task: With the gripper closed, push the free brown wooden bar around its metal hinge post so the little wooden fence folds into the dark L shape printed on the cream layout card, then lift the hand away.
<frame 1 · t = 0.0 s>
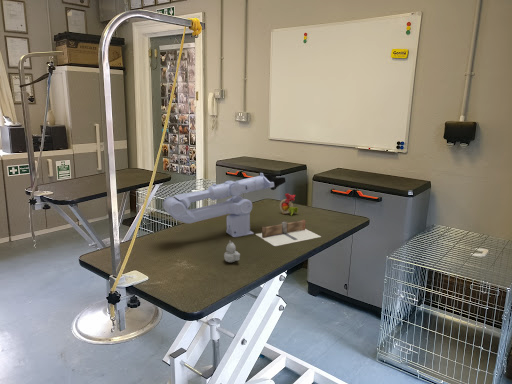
hand: (280, 178, 174), 22 cm above the table, tool horizontal, fingers open, 7 cm apart
fixed fence section: (284, 233, 168), resting on layout card
bird rattle: (288, 215, 197), on the table
brown wooden bar: (296, 226, 170), point 3 cm above the table, hinge at 0.0°
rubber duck: (232, 262, 141), on the table
layout card: (288, 236, 166), on the table
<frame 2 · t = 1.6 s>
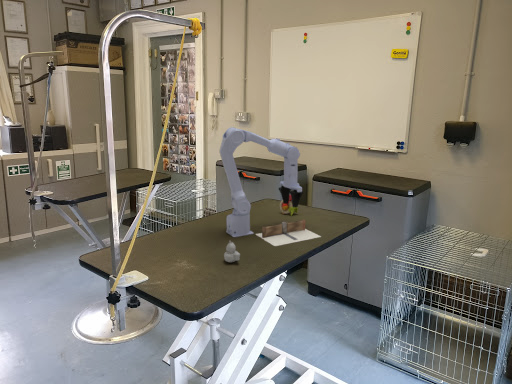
hand: (290, 205, 174), 10 cm above the table, tool pointing down, fingers open, 7 cm apart
nothing on the table moved.
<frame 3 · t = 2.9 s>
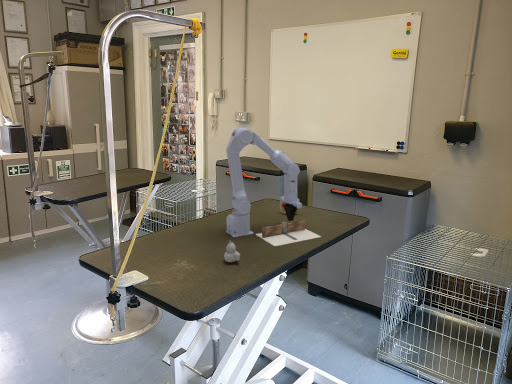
hand: (290, 220, 175), 4 cm above the table, tool pointing down, fingers closed
nothing on the table moved.
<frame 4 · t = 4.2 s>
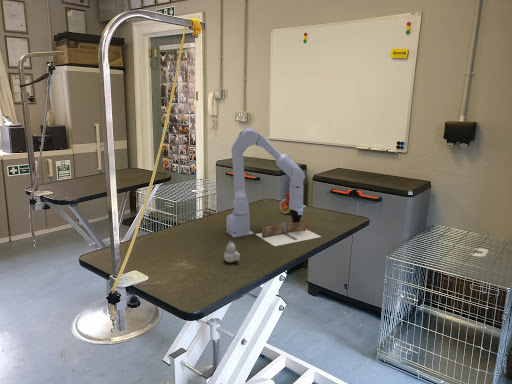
hand: (296, 226, 172), 2 cm above the table, tool pointing down, fingers closed
brown wooden bar: (296, 226, 170), point 3 cm above the table, hinge at 4.9°, touching gripper
everything else where it was.
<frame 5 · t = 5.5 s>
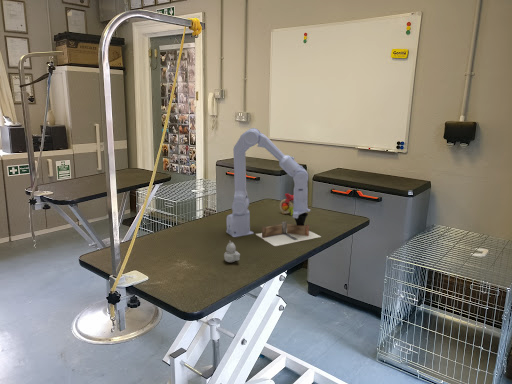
hand: (300, 230, 167), 2 cm above the table, tool pointing down, fingers closed
brown wooden bar: (298, 229, 166), point 3 cm above the table, hinge at 46.3°, touching gripper
everything else where it was.
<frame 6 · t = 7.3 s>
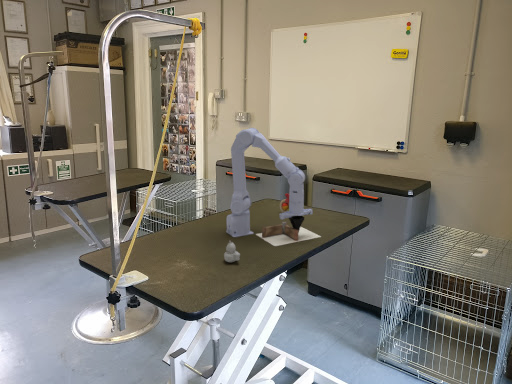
hand: (296, 233, 163), 2 cm above the table, tool pointing down, fingers closed
brown wooden bar: (291, 232, 163), point 3 cm above the table, hinge at 91.6°, touching gripper
everything else where it was.
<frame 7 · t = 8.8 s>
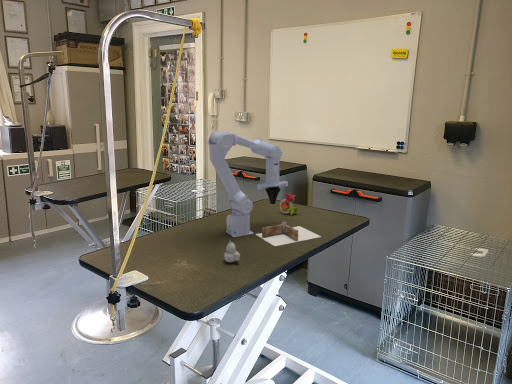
hand: (272, 203, 176), 10 cm above the table, tool pointing down, fingers closed
brown wooden bar: (291, 232, 163), point 3 cm above the table, hinge at 92.2°
everything else where it was.
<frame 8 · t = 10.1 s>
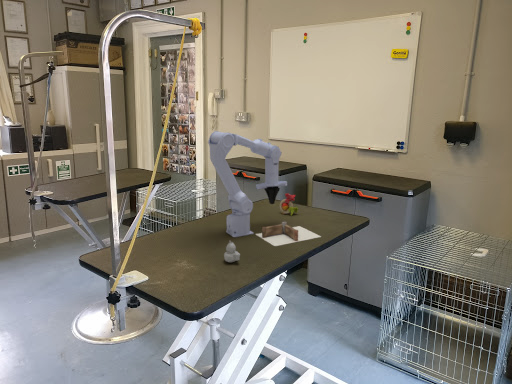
hand: (271, 203, 177), 10 cm above the table, tool pointing down, fingers closed
nothing on the table moved.
at the end: brown wooden bar at +92° (first picture: +0°) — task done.
